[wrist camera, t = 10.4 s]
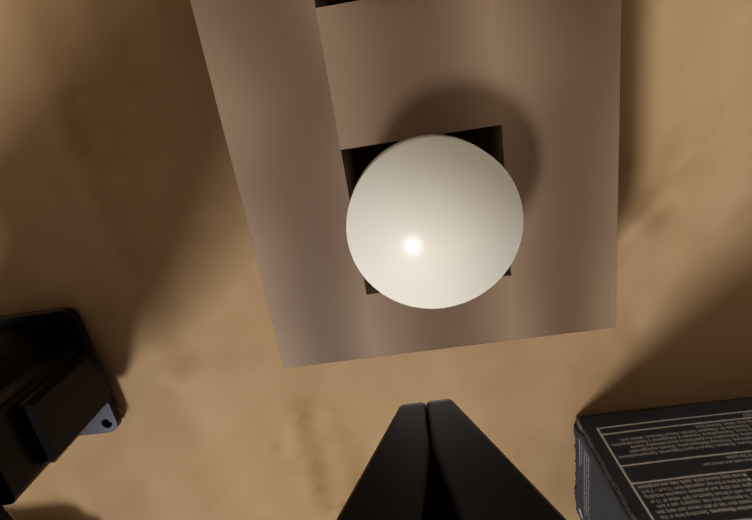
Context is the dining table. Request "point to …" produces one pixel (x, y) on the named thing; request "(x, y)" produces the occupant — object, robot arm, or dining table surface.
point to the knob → (434, 221)
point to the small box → (666, 463)
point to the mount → (409, 119)
